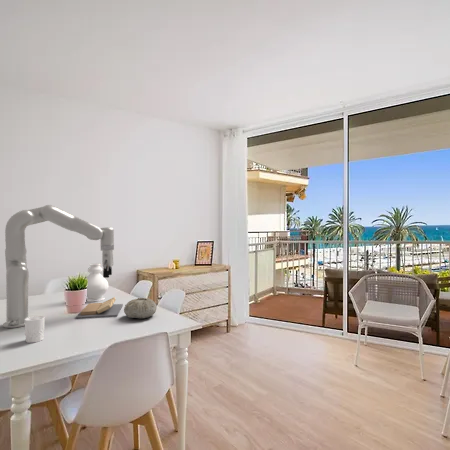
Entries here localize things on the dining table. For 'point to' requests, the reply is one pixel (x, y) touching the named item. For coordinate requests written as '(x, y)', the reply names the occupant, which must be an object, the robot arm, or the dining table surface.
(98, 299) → the decorative vase
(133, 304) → the decorative shell
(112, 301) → the board
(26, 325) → the white cup
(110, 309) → the floor board
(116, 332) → the dining table surface
